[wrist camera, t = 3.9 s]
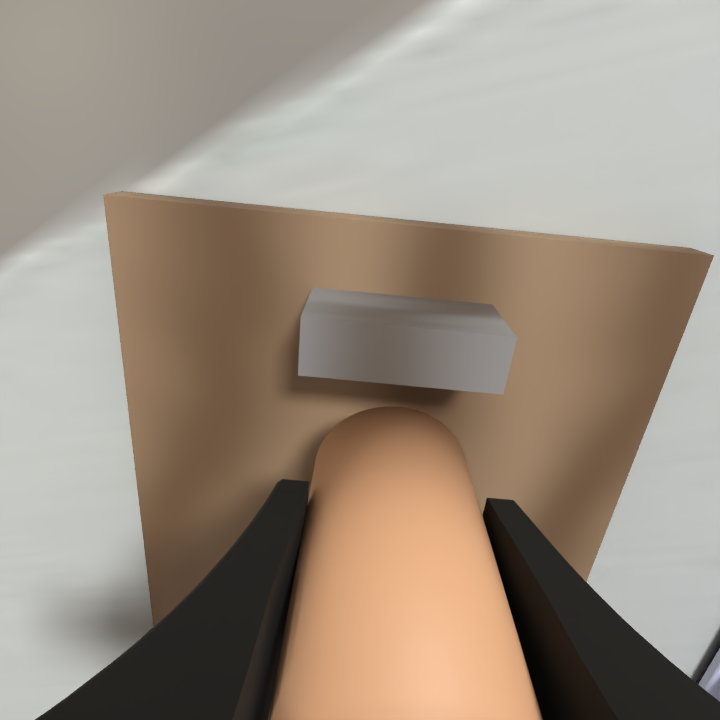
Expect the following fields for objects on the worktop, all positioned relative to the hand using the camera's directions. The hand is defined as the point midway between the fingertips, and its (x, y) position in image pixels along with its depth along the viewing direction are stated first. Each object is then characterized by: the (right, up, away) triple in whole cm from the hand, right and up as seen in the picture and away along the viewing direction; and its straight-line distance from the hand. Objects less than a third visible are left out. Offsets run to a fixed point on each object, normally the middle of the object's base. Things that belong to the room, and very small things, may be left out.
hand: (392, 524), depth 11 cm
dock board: (-1, -4, +8) cm, 9 cm away
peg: (0, +1, +2) cm, 2 cm away
